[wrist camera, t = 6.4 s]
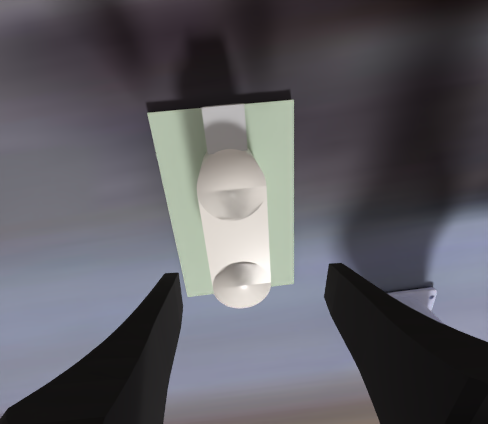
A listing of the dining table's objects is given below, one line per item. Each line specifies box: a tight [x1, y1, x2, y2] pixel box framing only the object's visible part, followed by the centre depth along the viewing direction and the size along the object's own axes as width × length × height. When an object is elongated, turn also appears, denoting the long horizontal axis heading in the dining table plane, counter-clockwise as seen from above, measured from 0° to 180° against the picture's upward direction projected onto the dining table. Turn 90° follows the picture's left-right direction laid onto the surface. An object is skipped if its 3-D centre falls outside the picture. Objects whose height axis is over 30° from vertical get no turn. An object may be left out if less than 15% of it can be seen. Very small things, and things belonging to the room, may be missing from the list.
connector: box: [197, 103, 271, 308], centre depth 18 cm, size 13×4×5 cm, turn 5°
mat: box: [147, 100, 294, 297], centre depth 21 cm, size 16×10×1 cm, turn 5°
